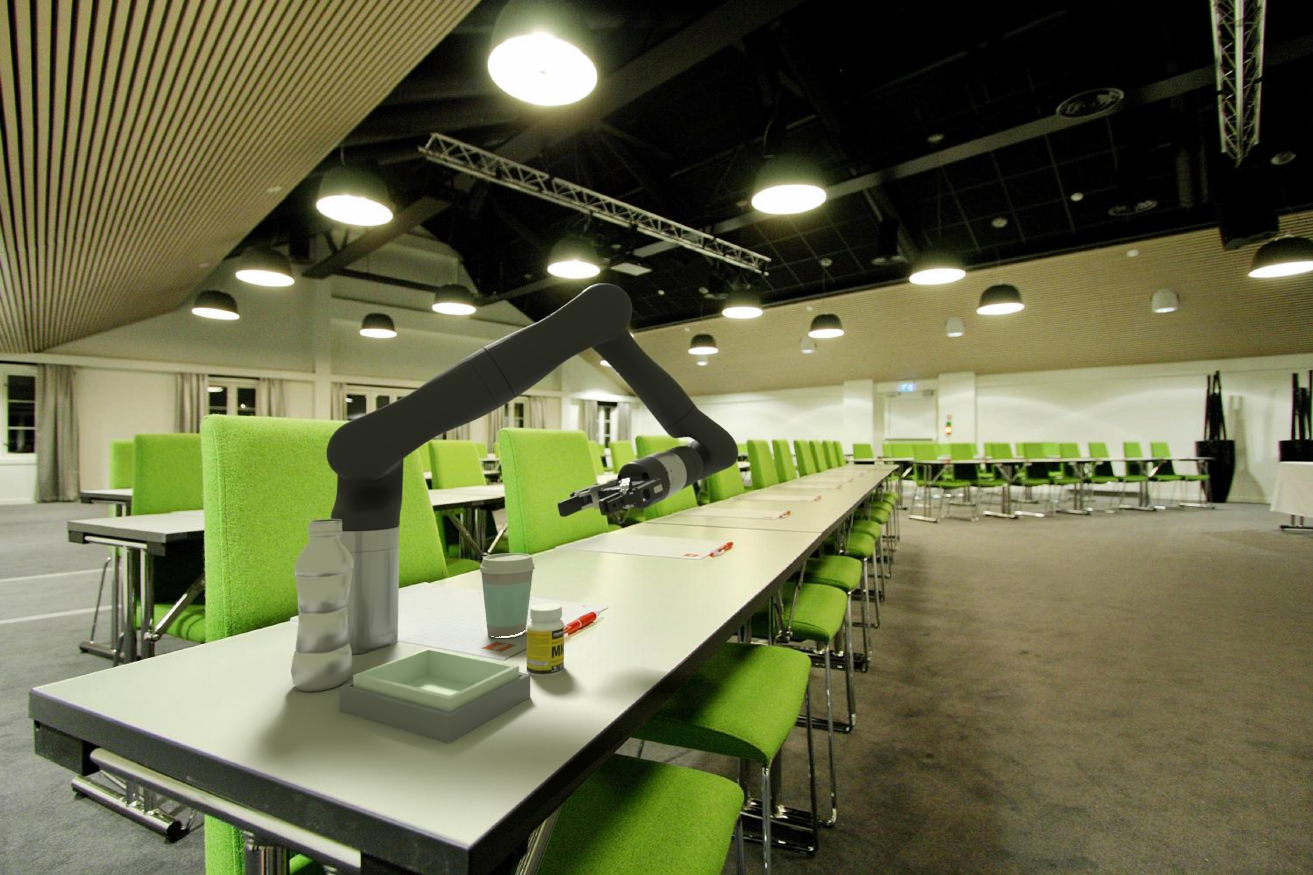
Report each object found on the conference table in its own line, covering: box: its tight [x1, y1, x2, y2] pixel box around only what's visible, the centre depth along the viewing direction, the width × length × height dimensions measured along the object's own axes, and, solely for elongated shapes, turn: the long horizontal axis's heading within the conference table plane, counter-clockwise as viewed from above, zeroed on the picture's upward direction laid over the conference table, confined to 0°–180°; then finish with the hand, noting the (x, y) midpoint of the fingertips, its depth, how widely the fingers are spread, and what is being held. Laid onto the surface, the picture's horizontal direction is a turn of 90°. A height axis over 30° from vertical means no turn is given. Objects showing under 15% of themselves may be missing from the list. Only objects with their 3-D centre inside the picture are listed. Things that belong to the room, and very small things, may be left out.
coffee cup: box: [478, 552, 536, 637], centre depth 92 cm, size 8×9×12 cm
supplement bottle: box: [526, 602, 565, 677], centre depth 75 cm, size 5×5×8 cm
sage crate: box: [352, 647, 520, 713], centre depth 64 cm, size 14×10×4 cm
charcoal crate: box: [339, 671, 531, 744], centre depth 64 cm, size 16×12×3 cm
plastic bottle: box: [290, 518, 354, 693], centre depth 70 cm, size 6×7×20 cm
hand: (580, 509), depth 80 cm, fingers open, 8 cm apart
